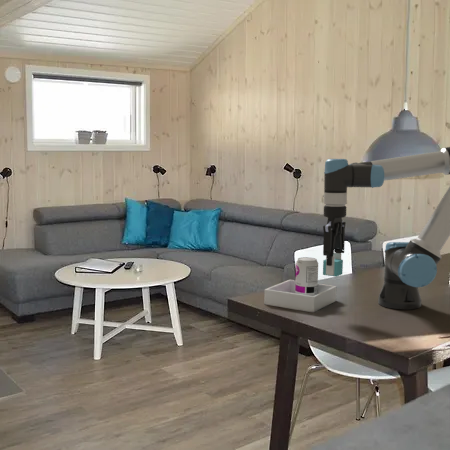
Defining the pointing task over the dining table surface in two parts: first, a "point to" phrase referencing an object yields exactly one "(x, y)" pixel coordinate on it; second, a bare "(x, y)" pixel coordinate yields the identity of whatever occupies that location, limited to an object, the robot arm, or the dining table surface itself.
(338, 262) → the cube
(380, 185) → the robot arm
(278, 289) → the tote
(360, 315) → the dining table surface
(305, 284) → the supplement can
